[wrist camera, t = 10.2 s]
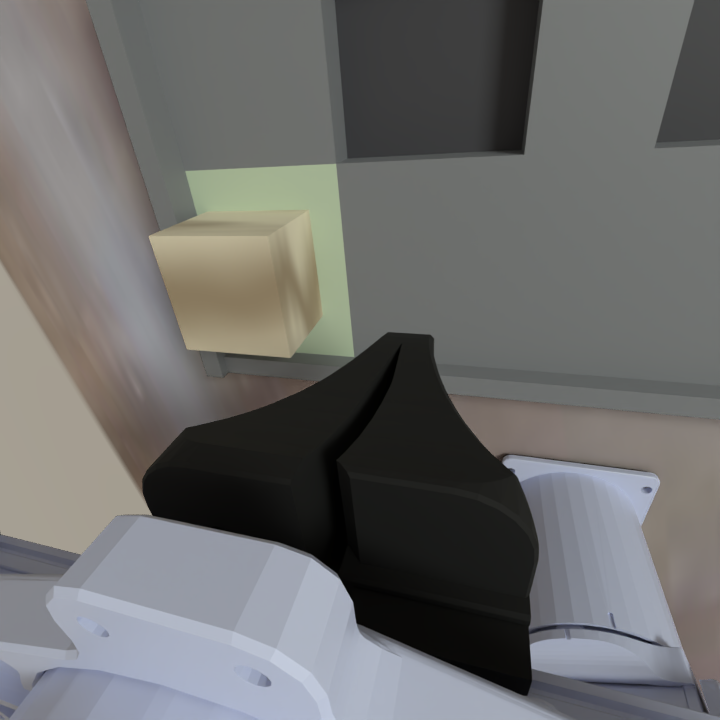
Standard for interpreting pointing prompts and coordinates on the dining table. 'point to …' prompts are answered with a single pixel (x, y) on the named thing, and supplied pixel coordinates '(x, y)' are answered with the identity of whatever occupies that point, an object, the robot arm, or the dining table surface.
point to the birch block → (242, 280)
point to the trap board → (457, 178)
